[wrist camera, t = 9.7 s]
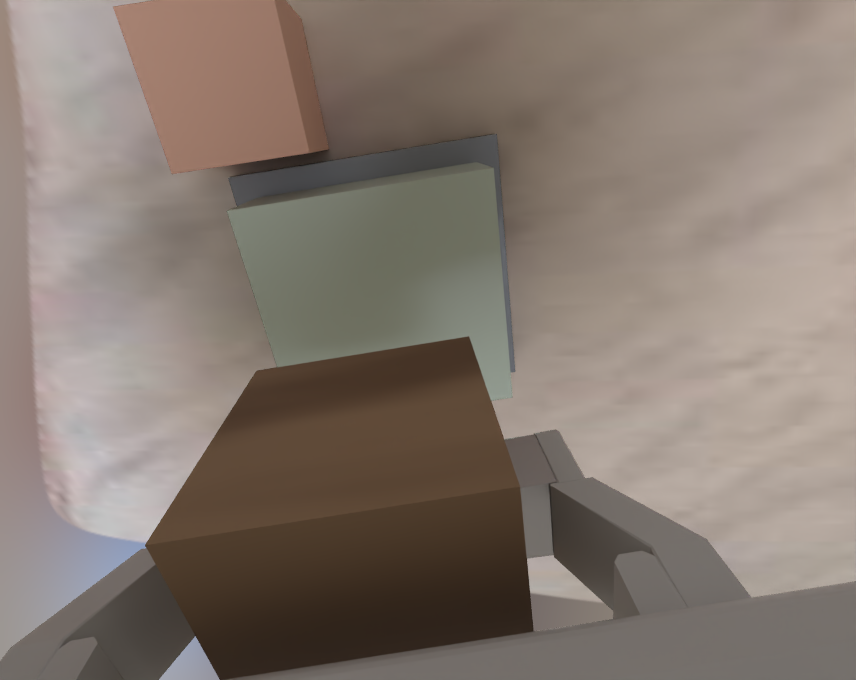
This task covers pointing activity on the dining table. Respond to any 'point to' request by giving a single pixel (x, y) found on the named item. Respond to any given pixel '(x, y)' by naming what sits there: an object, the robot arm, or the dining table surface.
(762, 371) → the dining table surface
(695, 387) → the dining table surface
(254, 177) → the tower base
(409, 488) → the brick
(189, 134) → the brick
